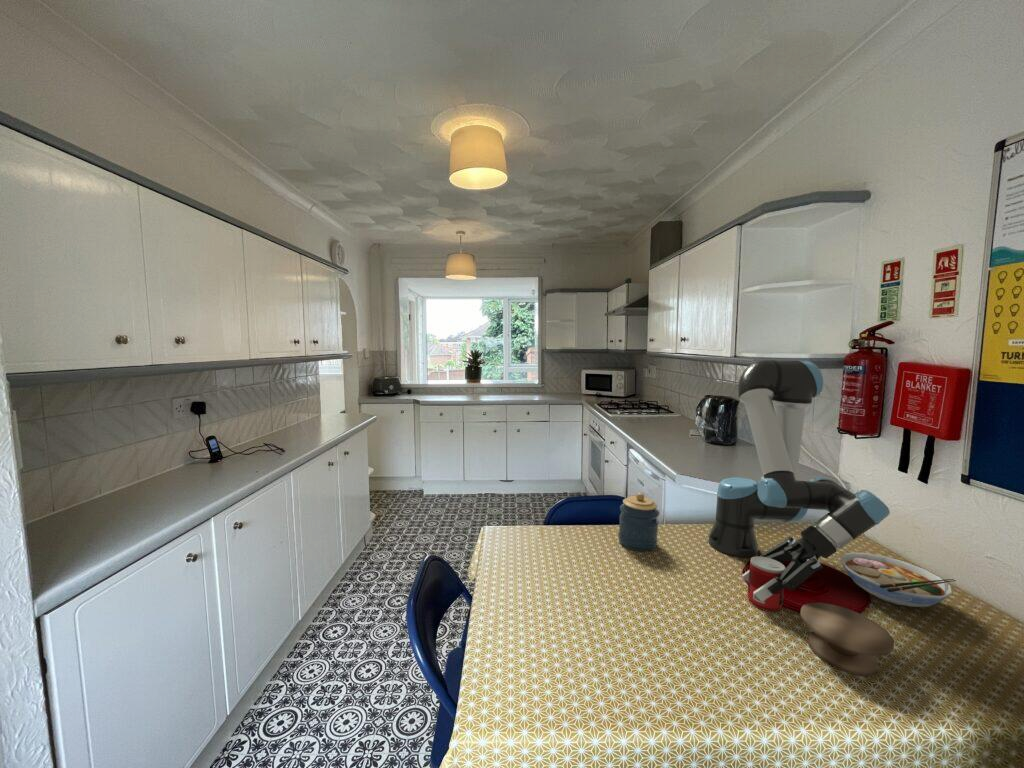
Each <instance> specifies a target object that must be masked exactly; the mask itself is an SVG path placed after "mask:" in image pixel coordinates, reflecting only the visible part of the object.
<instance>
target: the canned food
mask: <svg viewBox="0 0 1024 768" xmlns="http://www.w3.org/2000/svg"><path fill="white" fill-rule="evenodd" d="M749 562H750V563H749V569H748V571H749V582H747V583H748V584H747V599H748V601H749V603H751V604H752V605H754V606H755V607H757V608H759V609H762V610H764V611H765V610H766V611H768V612H769V611H771V612H777V611H780V610H781V609H782V607H783V604H784V603H783V601H784V591H785V588H783V589H781V590H780V591H779V592H777V593H776V594H773V595H771V596H770V597H769V598H767V599H766V600H764V601H763V602H761V601H760V599H759V598H758V597H757V596H756V595H755V594H754V593H753V592H754V591H756V590H757V589H759V588H760V587H761V586H763V585H764V584H766V583H767V582H769V581H770V580H772V579H773V578H775V576H776V577H778V578H779V576H780V575H781V574H782V573H783V571H784V570H785V569H786V568H787V567H786V566H785V565H784V564H783V563H780V562H778V561H776V560H774V559H771V558H767V556H766V557H761V556H758V555H755V556H752V557H750V561H749ZM784 580H785V579H784Z"/></svg>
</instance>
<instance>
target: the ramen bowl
mask: <svg viewBox="0 0 1024 768" xmlns="http://www.w3.org/2000/svg"><path fill="white" fill-rule="evenodd" d="M840 557H841V558H840V562H841V564H842V567H843V568H844V570H845V571H846V573H847V574H848V575H849V577H850V578H851V579H852V581H853V582H854V583H855V584H856V585H857V586H858V587H860V588H862V590H864V591H866V592H867V593H869V594H871V595H873V596H875V597H876V598H878V599H879V600H882V601H884V602H886V603H890V604H893V605H897V606H906V607H910V608H911V607H914V608H926V607H930V606H933V605H935V604H938V603H940V602H942V601H944V600H946V599H947V598H949V596H951V595H952V594H953V590H952V586H951V585H950V584H949V583H952V582H956V581H957V580H956V579H954V578H950V579H949V578H947V579H943V578H942V577H940V576H938V575H936V574H935V573H932V572H930V571H929V570H927V569H925V568H922V567H920V566H917V565H913V564H912V563H909V562H906V561H903V560H899V559H896V558H893V557H892V558H891V557H888V556H886V555H880V554H875V553H874V554H873V553H867V552H848V553H843V554H842V555H841V556H840Z"/></svg>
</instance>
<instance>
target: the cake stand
mask: <svg viewBox="0 0 1024 768" xmlns="http://www.w3.org/2000/svg"><path fill="white" fill-rule="evenodd" d="M799 612H800V614H799V615H800V619H801V621H802V623H803V624H804V625H805V626H806V627H807V628H808V629H809V630H810V631H811V632H810V633H809V635H808V643H807V644H808V646H809V648H810V650H811V651H812V652H813V654H814V655H816V656H817V657H818V658H819V659H820V660H822V661H823V662H824V663H827V664H828V665H830V666H832V667H834V668H836V669H838V670H840V671H843V672H845V673H847V674H851V675H856V676H863V677H867V676H873V675H875V674H876V673H877V672H878V671H879V659H878V657H877V656H886V655H889V654H891V653H892V652H893V651H894V646H895V641H894V638H893V636H892V634H891V633H889V631H888V630H887V629H886V628H885V627H883V626H881V624H879V623H878V622H876V621H874V620H872V619H871V618H870V617H868V616H865V615H863V614H861V613H859V612H857V611H855V610H851V609H849V608H846V607H843V606H839V605H836V604H831V603H827V602H826V603H825V602H808V603H805V604H804V605H802V606H801V608H800V611H799Z"/></svg>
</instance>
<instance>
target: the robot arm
mask: <svg viewBox="0 0 1024 768" xmlns="http://www.w3.org/2000/svg"><path fill="white" fill-rule="evenodd" d="M737 383H738V385H737V393H738V397H739V398H738V399H739V402H741V403H742V404H744V407H745V411H746V415H747V418H748V422H749V426H750V429H751V435H752V438H753V441H754V444H755V448H756V451H757V453H756V454H757V457H758V460H759V464H760V467H761V468H760V469H761V472H762V476H761V477H760V480H758V482H757V481H755V479H754V480H753V479H751V478H747V477H728V478H724V479H722V480H720V481H719V483H718V486H717V492H716V495H717V496H716V507H715V508H716V511H715V520H714V523H713V526H712V527H711V530H710V531H709V534H708V538H707V541H708V542H707V543H708V544H709V545H710V546H711V547H712V548H713V549H715V550H717V551H718V552H721V553H724V554H727V555H730V556H734V557H739V558H740V557H742V558H752V557H756V556H758V553H759V544H758V540H757V536H756V532H755V520H761V521H776V522H784V523H788V522H799V521H800V520H802V519H804V518H805V516H806V515H807V513H808V511H809V510H819V511H827V512H828V513H826V514H825V515H823V516H822V517H821V518H819V519H818V520H816V521H815V522H814V523H813V525H810V526H808V527H807V528H805V529H804V530H802V531H801V532H800V535H801V538H798V539H794V538H793V536H790V535H789V536H788V537H786V538H785V539H784V540H783V541H781V542H780V543H778V544H776V545H775V546H773V547H771V548H768V549H767V550H766V551H764V552H762V553H761V554H760V557H767V558H771V559H774V560H776V561H778V562H780V563H782V564H783V563H786V562H789V561H790V562H789V563H788V565H787V567H785V568H786V569H785V570H784V571H783V573H782V574H781V575H780V576H779V578H778V577H776V576H775V578H773V579H772V580H770V581H769V582H767V583H766V584H764V585H763V586H761V587H760V588H759V589H757V590H756V591H754V592H753V593H754V594H755V595H756V596H757V597H758V598H759V599H760V601H761V602H763V601H764V600H766V599H767V598H769V597H770V596H771V595H773V594H776V593H777V592H779V591H780V590H781V589H783V588H784V590H785V589H787V590H788V591H790V592H792V591H794V590H795V589H797V588H798V587H800V586H801V584H803V583H804V582H805V581H806V580H807V579H809V578H810V577H811V576H812V575H813V574H814V573H816V572H817V571H820V570H822V569H823V567H824V566H823V565H822V564H821V563H820V562H819V559H820V558H821V557H822V558H823V559H828V558H830V557H831V556H832V555H834V554H836V553H837V551H838V550H837V548H838V549H843V548H844V547H845V546H847V545H848V544H849V543H851V542H853V541H854V540H856V539H857V538H859V537H860V536H862V535H863V534H864V533H866V532H869V531H870V530H871V529H872V528H874V527H875V526H877V525H880V523H881V522H883V520H885V519H886V518H887V517H888V516H890V508H889V507H888V506H887V505H886V504H885V503H884V502H883V501H882V499H880V498H879V497H878V496H877V495H876V494H874V493H872V492H870V491H869V490H866V489H861V490H858V491H857V492H855V493H853V492H851V491H850V490H848V489H847V488H845V487H843V486H842V485H840V484H839V483H837V482H836V481H834V480H832V479H830V478H827V477H823V476H817V477H815V478H812V479H810V480H798V474H799V473H798V470H799V464H800V454H801V448H802V447H801V445H802V440H803V439H802V437H803V431H804V422H805V413H806V408H808V407H809V406H811V405H812V404H813V398H817V397H818V396H820V395H821V392H823V388H824V377H823V373H822V371H821V370H820V369H819V366H817V365H816V364H815V363H814V362H811V361H804V360H786V359H785V360H783V359H761V360H757V361H755V362H752V363H751V364H749V365H748V366H747V367H746V368H744V370H743V371H742V373H741V375H740V377H739V379H738V382H737ZM741 576H742V577H743V579H745V581H746V582H747V583H748V582H749V570H747V571H746V572H744V573H743V574H742V575H741ZM784 579H785V580H784Z"/></svg>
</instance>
